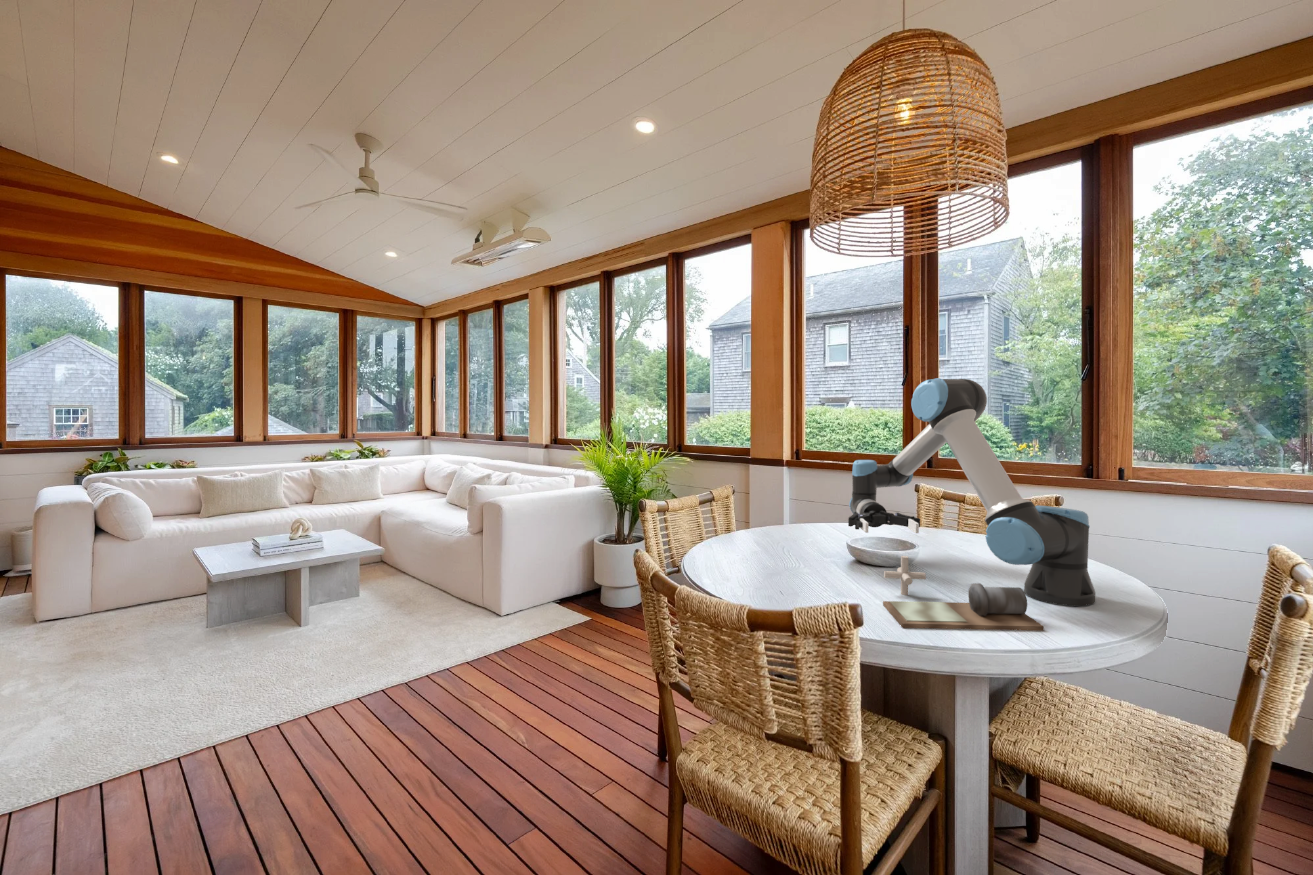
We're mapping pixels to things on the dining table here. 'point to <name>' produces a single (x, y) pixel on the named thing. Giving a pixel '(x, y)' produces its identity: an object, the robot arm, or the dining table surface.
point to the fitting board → (969, 611)
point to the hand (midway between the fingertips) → (892, 528)
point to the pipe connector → (904, 575)
